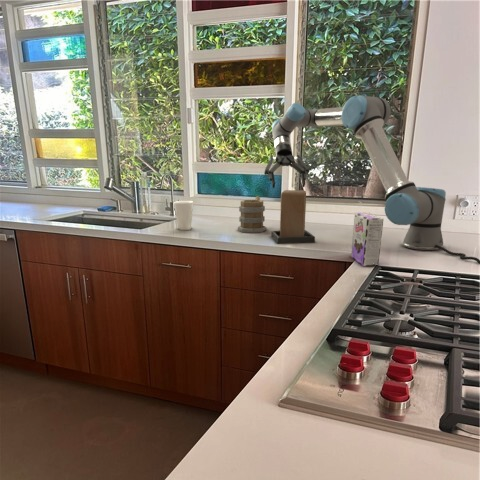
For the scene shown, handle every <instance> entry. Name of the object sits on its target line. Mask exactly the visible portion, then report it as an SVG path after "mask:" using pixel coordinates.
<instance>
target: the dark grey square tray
mask: <svg viewBox="0 0 480 480" xmlns="http://www.w3.org/2000/svg"><path fill="white" fill-rule="evenodd" d="M270 237H271V238H272V239H273V240H274V242H275V243H276V244H277V245H279V244H283V245H284V244H313V243H315V241H316V236H314V235H313V234H312V233H311V232H309V231H308V230H306V229H305V234H304V237H280V230H271V231H270Z"/></svg>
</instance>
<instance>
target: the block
mask: <svg viewBox="0 0 480 480" xmlns="http://www.w3.org/2000/svg"><path fill="white" fill-rule="evenodd" d="M280 193H281V194H280V213H279V214H280V216H279V218H280V220H279V231H280V237H304V234H305V230H306V210H307V209H306V208H307V191H306V190H305V189H303V190H302V189H301V190H300V189H299V190H297V189H295V190H294V189H285V190H283V191H282V192H280Z"/></svg>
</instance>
